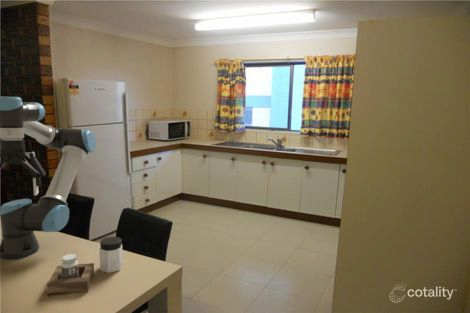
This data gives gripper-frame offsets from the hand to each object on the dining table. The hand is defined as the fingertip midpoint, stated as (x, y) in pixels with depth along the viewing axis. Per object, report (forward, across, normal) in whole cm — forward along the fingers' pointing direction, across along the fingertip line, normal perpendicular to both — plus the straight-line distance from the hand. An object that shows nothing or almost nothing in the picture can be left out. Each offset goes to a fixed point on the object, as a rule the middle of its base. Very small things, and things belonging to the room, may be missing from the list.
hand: (16, 194), depth 123 cm
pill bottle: (+31, +20, -12) cm, 39 cm away
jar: (+32, +34, -2) cm, 46 cm away
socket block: (+32, +21, -12) cm, 40 cm away
